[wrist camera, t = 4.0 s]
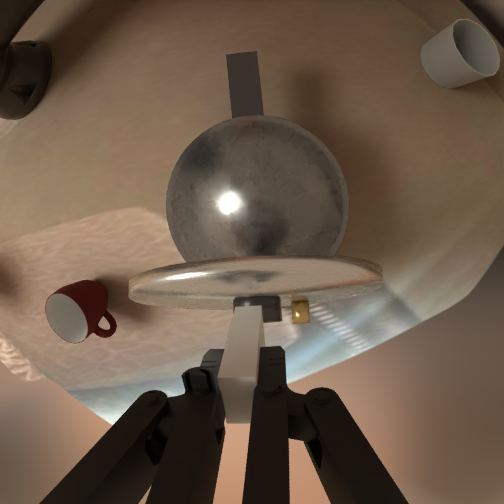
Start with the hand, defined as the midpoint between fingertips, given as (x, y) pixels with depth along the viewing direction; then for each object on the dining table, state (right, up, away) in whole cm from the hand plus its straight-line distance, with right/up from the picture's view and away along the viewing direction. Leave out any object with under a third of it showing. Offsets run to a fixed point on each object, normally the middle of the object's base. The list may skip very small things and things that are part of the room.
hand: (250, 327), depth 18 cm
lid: (0, +2, +7) cm, 7 cm away
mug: (-24, -3, +29) cm, 38 cm away
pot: (+1, +14, +23) cm, 27 cm away
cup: (+29, +33, +16) cm, 47 cm away
